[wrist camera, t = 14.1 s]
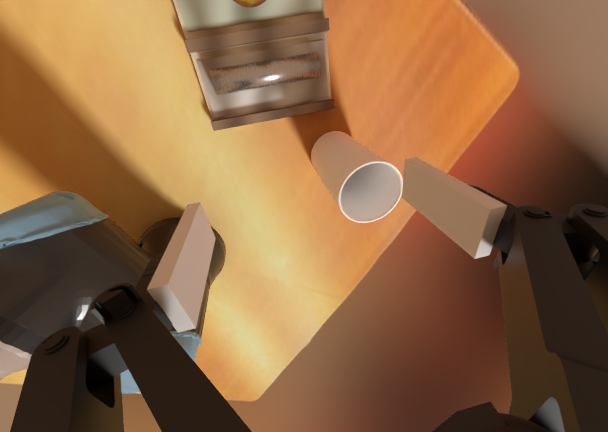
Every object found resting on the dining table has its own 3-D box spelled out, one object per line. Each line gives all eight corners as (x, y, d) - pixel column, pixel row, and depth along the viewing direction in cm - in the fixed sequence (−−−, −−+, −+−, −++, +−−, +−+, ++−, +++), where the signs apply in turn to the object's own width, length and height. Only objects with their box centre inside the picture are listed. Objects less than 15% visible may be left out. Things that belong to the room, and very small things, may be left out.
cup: (307, 135, 40) (336, 168, 26) (355, 126, 41) (406, 154, 27) (313, 180, 44) (340, 229, 31) (356, 172, 45) (400, 215, 32)
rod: (219, 99, 33) (212, 88, 30) (214, 77, 33) (207, 64, 30) (318, 82, 34) (321, 69, 31) (314, 60, 34) (317, 46, 31)
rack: (216, 127, 37) (213, 130, 35) (154, -64, 26) (145, -76, 24) (329, 106, 38) (334, 108, 36) (315, -83, 28) (320, -96, 25)
